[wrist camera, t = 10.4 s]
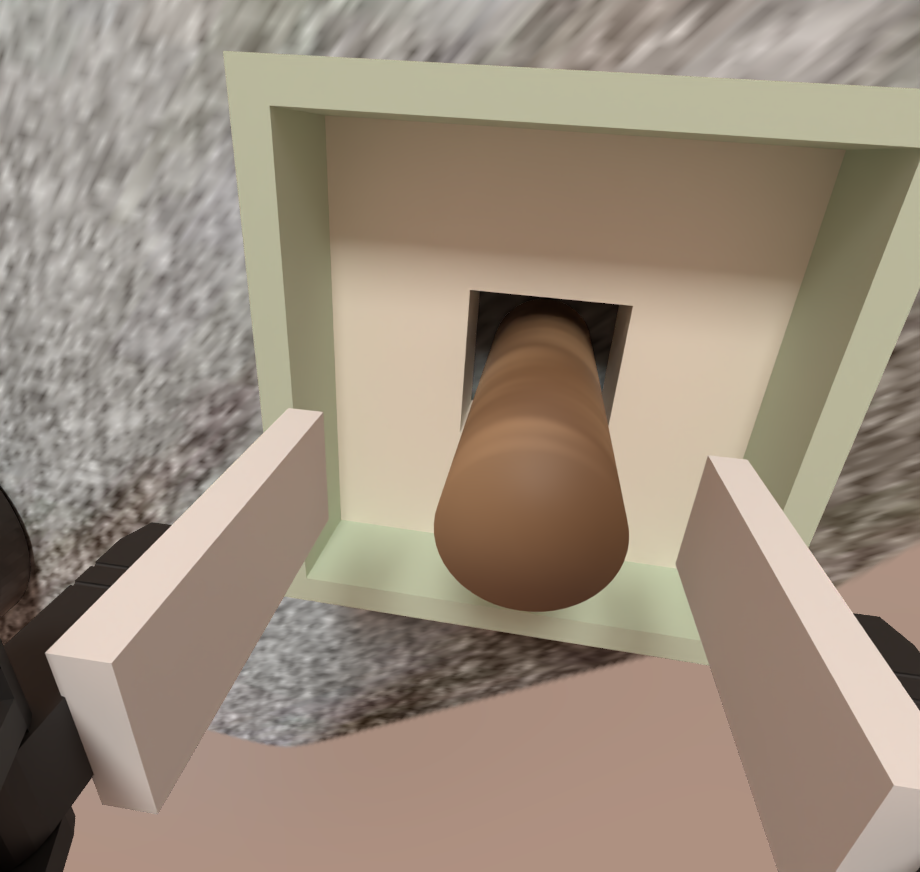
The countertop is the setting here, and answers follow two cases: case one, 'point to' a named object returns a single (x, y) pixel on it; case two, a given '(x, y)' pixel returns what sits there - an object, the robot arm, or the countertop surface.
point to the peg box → (568, 294)
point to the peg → (535, 471)
